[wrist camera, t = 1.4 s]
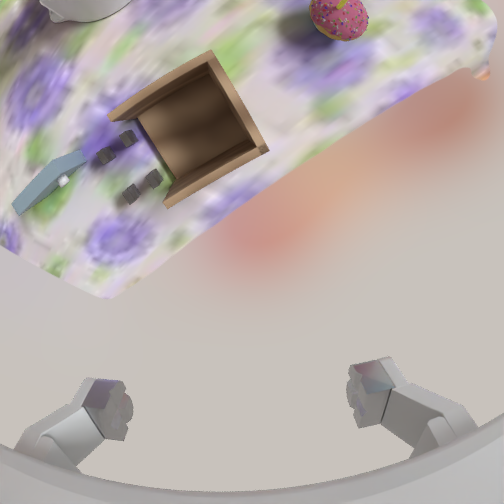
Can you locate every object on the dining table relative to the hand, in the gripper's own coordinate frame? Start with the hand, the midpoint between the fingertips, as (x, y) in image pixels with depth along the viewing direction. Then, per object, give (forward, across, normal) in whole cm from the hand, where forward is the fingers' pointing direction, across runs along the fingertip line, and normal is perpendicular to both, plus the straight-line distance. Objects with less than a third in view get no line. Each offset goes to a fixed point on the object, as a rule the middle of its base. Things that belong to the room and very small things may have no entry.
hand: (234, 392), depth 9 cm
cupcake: (+34, -16, -29) cm, 47 cm away
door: (+34, +27, -10) cm, 44 cm away
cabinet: (+35, +8, -12) cm, 37 cm away
